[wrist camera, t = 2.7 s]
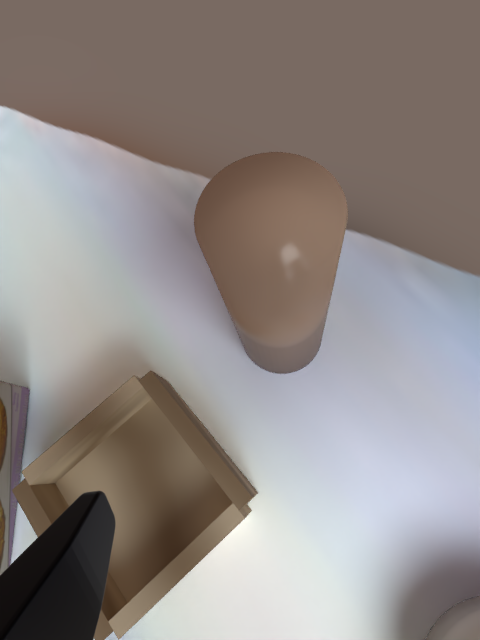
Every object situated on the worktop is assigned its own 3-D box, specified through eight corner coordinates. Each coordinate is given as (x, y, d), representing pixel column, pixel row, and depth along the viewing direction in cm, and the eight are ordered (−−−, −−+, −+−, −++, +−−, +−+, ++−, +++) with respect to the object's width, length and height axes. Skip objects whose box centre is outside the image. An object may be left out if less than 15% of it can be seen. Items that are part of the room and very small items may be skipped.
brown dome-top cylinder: (279, 390, 22) (263, 314, 11) (226, 333, 24) (165, 215, 12) (338, 336, 23) (381, 211, 11) (283, 283, 24) (273, 128, 13)
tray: (131, 626, 19) (103, 654, 16) (44, 480, 22) (8, 483, 19) (263, 499, 20) (258, 505, 17) (164, 376, 23) (146, 364, 20)
